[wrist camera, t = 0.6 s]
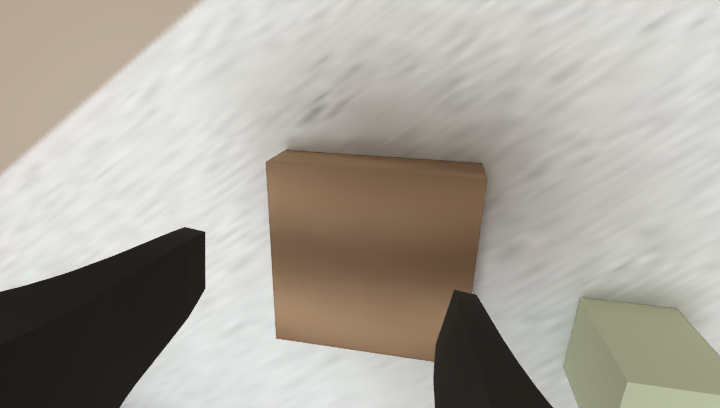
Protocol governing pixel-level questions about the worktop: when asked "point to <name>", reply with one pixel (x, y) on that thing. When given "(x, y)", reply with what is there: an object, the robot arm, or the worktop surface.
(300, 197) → the walnut block
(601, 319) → the sage block
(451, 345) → the robot arm
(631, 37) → the worktop surface
